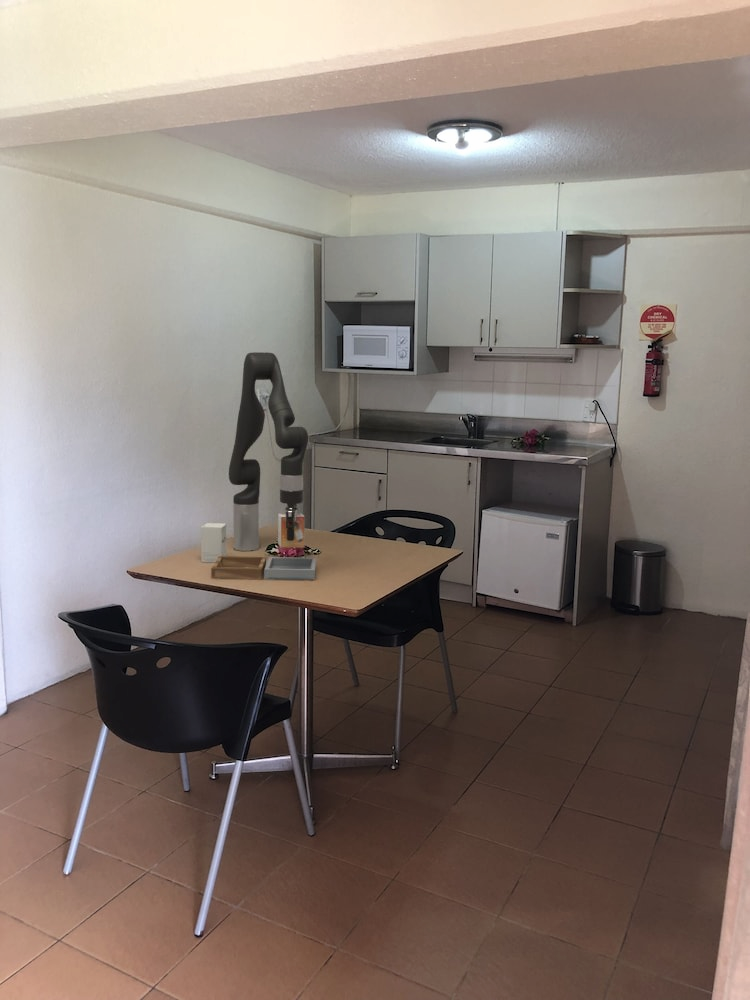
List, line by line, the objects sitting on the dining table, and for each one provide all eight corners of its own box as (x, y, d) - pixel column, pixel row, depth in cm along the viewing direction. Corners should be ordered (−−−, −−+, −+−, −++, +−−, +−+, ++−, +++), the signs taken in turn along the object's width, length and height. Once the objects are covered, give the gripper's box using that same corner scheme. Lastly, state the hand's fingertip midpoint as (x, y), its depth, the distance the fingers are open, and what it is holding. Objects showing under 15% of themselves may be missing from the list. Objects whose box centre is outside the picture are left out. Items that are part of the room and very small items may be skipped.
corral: (219, 566, 282) (218, 556, 281) (266, 566, 282) (266, 557, 281) (211, 578, 266) (211, 568, 265) (261, 579, 266) (261, 569, 266)
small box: (280, 548, 269) (280, 516, 267) (277, 544, 274) (277, 513, 273) (304, 547, 271) (304, 515, 269) (301, 543, 277) (301, 512, 275)
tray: (269, 567, 282) (269, 557, 281) (316, 567, 283) (316, 557, 282) (264, 579, 266) (264, 569, 266) (314, 580, 267) (314, 570, 266)
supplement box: (221, 563, 285) (221, 527, 283) (200, 562, 286) (200, 526, 284) (226, 558, 293) (226, 523, 290) (206, 557, 293) (206, 522, 291)
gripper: (281, 484, 276) (281, 533, 279) (278, 491, 262) (277, 542, 265) (304, 484, 277) (303, 533, 280) (301, 491, 262) (301, 543, 265)
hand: (291, 537), depth 272 cm, fingers closed on small box, 6 cm apart
